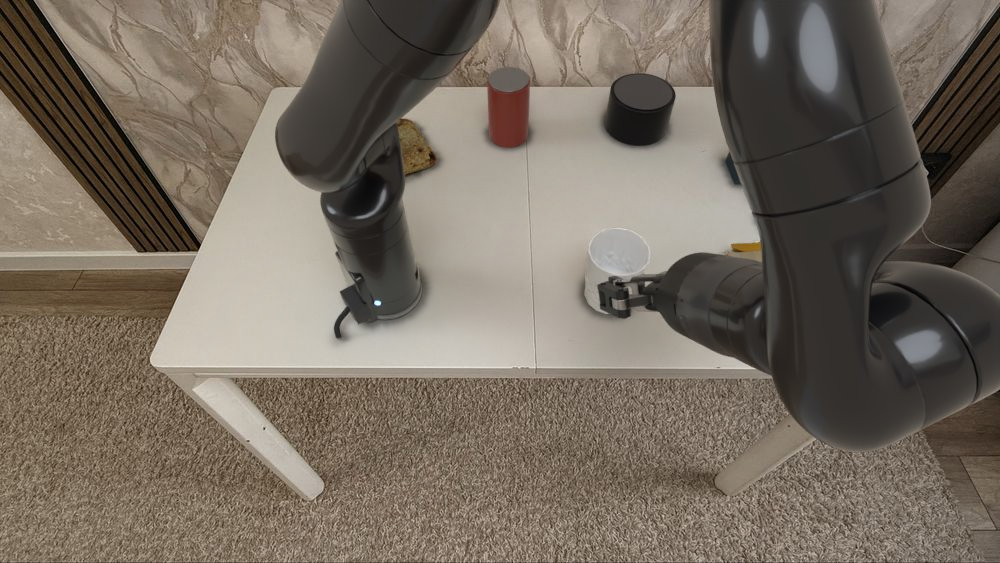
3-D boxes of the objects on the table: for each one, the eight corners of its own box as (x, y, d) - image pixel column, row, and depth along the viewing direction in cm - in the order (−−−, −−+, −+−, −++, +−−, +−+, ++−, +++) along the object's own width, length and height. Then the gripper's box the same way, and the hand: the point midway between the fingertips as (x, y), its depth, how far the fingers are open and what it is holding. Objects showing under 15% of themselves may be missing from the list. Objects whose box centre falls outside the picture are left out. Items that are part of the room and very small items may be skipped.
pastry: (418, 197, 90) (415, 184, 88) (320, 179, 93) (315, 165, 91) (451, 130, 100) (449, 116, 98) (362, 115, 103) (358, 101, 101)
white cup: (634, 322, 76) (649, 280, 68) (576, 313, 77) (585, 270, 69) (637, 277, 81) (652, 232, 73) (583, 268, 82) (591, 223, 74)
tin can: (503, 152, 97) (503, 97, 87) (481, 131, 100) (478, 75, 91) (536, 137, 99) (538, 81, 90) (512, 116, 102) (513, 61, 93)
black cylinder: (633, 154, 96) (642, 120, 90) (591, 121, 101) (597, 86, 95) (679, 129, 100) (689, 95, 94) (636, 99, 105) (644, 64, 99)
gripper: (805, 242, 44) (710, 234, 60) (631, 271, 43) (581, 255, 59) (813, 334, 45) (717, 302, 61) (642, 364, 44) (590, 324, 60)
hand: (650, 279), depth 60 cm, fingers open, 8 cm apart
